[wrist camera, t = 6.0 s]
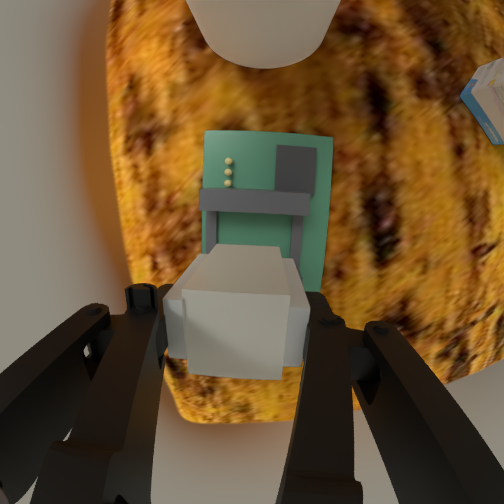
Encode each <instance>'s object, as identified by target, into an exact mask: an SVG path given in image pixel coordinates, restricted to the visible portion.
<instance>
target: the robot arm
mask: <svg viewBox="0 0 504 504" xmlns="http://www.w3.org/2000/svg"><path fill="white" fill-rule="evenodd" d="M207 256H208V254H199V255H198V256H197V257H196V259H195V260H194V261H193V262H192V263H191V265H190V266H189V267H188V268H187V269H186V271H185V272H184V273H183V274H182V275H181V277H180V278H179V279H178V280H177V282H176V283H175V284H165V285H162V286H160V287H159V288H158V289H157V287H156V286H155V285H152V284H147V283H139V284H134V285H130V286H128V287H127V288H126V289H125V294H126V302H127V310H126V312H125V314H122V315H110V312H109V307H108V306H106V305H104V304H98V303H92V304H90V305H87V306H85V307H83V308H81V309H80V310H79V311H77V312H76V313H75V314H73V315H72V316H71V317H69V318H68V319H67V320H65V321H64V322H63V323H61V324H60V325H59V326H58V327H56V328H55V329H54V330H53V331H51V332H50V333H49V334H47V335H46V336H45V337H44V338H43V339H41V340H40V341H39V342H38V343H36V344H35V345H34V346H33V347H31V348H30V349H29V350H28V351H27V352H25V353H24V354H23V355H22V356H20V357H19V358H18V359H17V360H16V361H14V362H13V363H12V364H11V365H10V366H9V367H7V368H6V369H5V370H4V371H3V372H2V373H1V374H0V504H15V503H16V502H18V501H19V500H20V498H22V497H23V496H24V494H26V492H27V491H28V490H29V488H30V487H31V486H32V484H33V483H34V482H35V480H36V479H37V477H38V479H37V482H36V485H35V488H34V491H33V494H32V498H31V501H30V504H151V497H150V496H151V495H150V494H151V478H152V465H153V454H154V444H155V434H156V425H157V416H158V409H159V401H160V393H161V387H162V380H163V374H164V368H165V356H164V352H165V350H166V348H167V346H168V354H169V357H172V358H179V359H187V356H188V354H187V342H186V329H185V313H184V297H182V288H183V287H184V286H185V284H186V283H187V282H188V280H189V279H190V278H191V276H192V275H193V274H194V272H195V271H196V270H197V269H198V267H199V266H200V265H201V263H202V262H203V261H204V259H205V258H206V257H207ZM282 260H283V264H284V269H285V273H286V277H287V282H288V286H289V290H290V295H291V296H290V304H289V311H288V321H287V330H286V338H285V347H284V355H283V367H301V365H302V360H303V359H304V366H303V371H302V377H301V382H300V390H299V396H298V402H297V407H296V413H295V418H294V423H293V429H292V434H291V439H290V444H289V448H288V454H287V458H286V463H285V466H284V471H283V475H282V479H281V483H280V487H279V492H278V495H277V499H276V503H275V504H363V489H362V485H361V482H359V481H356V480H355V478H354V422H353V401H352V387H353V389H354V392H355V394H356V396H357V399H358V401H359V403H360V406H361V408H362V411H363V413H364V415H365V418H366V420H367V422H368V425H369V427H370V430H371V432H372V434H373V437H374V439H375V442H376V444H377V447H378V449H379V452H380V454H381V457H382V460H383V462H384V464H385V467H386V470H387V472H388V475H389V478H390V480H391V483H392V485H393V488H394V491H395V494H396V496H397V499H398V502H399V504H504V470H503V468H502V467H501V465H500V464H499V462H498V460H497V459H496V457H495V456H494V454H493V453H492V451H491V450H490V448H489V447H488V445H487V444H486V442H485V441H484V439H482V437H481V435H480V434H479V432H478V431H477V430H476V428H475V427H474V425H473V424H472V423H471V421H470V420H469V418H468V417H467V416H466V414H465V413H464V412H463V410H462V409H461V408H460V406H459V405H458V404H457V402H456V401H455V400H454V398H453V397H452V396H451V394H450V393H449V392H448V390H447V389H446V388H445V387H444V385H443V384H442V383H441V382H440V380H439V379H438V378H437V376H436V375H435V374H434V373H433V371H432V370H431V369H430V368H429V367H428V365H427V364H426V363H425V362H424V360H423V359H422V358H421V357H420V356H419V354H418V353H417V352H416V351H415V350H414V348H413V347H412V346H411V345H410V344H409V342H408V341H407V340H406V339H405V338H404V337H403V335H402V334H401V333H400V332H399V331H398V330H397V328H396V327H394V326H393V325H392V324H389V323H388V322H385V321H384V322H383V321H381V320H380V321H370V322H368V323H366V325H365V328H364V331H362V330H356V329H351V328H347V327H346V325H345V321H344V319H342V318H341V317H340V316H337V315H335V314H333V312H332V310H331V308H330V306H329V304H328V302H327V300H326V298H325V296H324V295H322V294H321V293H320V292H310V291H304V288H303V285H302V282H301V279H300V277H299V274H298V271H297V268H296V265H295V263H294V260H293V258H282ZM86 345H87V347H88V351H89V355H88V356H87V357H85V355H84V348H85V347H86ZM351 385H352V386H351ZM71 429H72V430H71ZM70 430H71V433H70V435H69V437H68V439H67V440H66V441H63V440H64V438H65V437H66V436H67V434H68V433H69V431H70Z"/></svg>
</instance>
